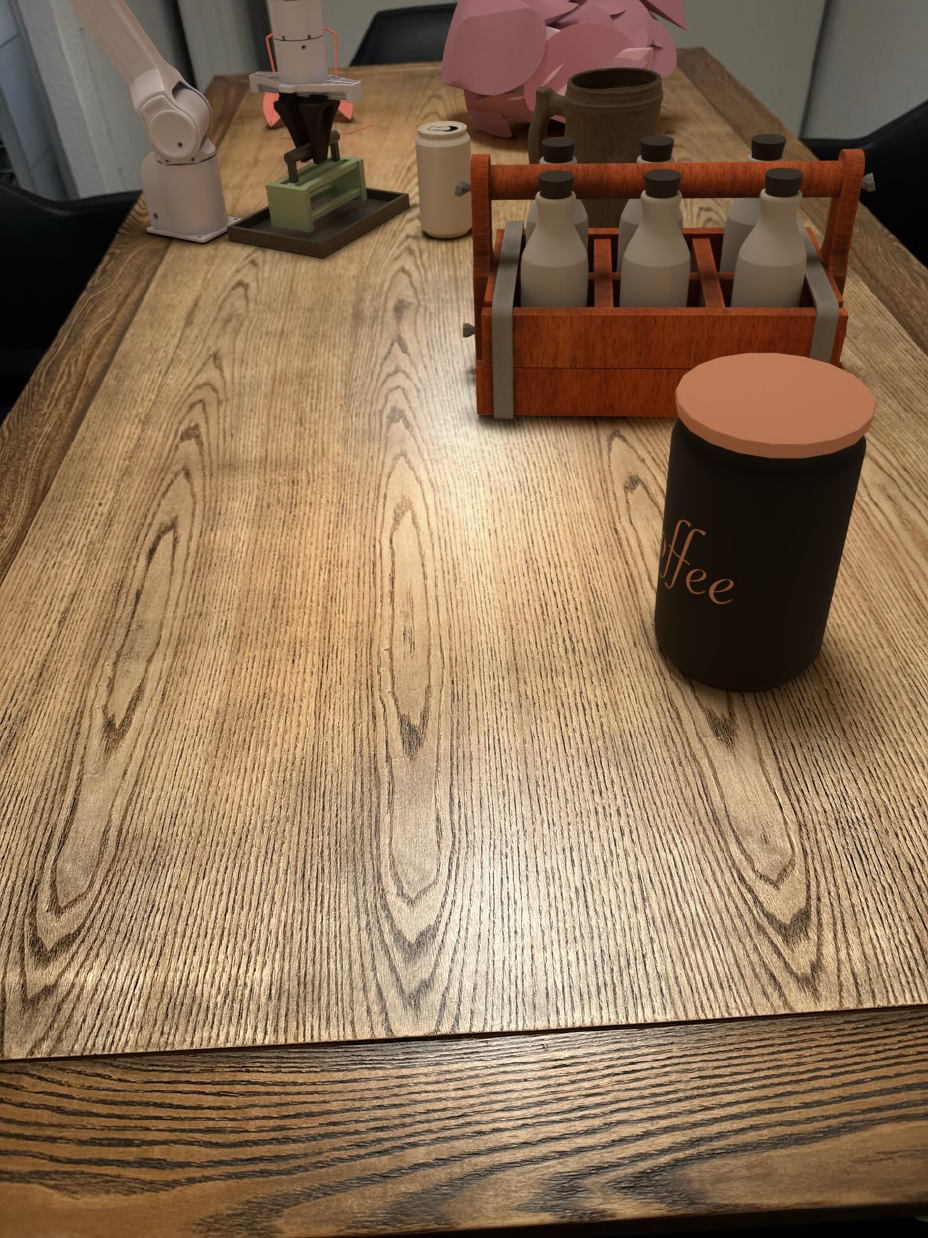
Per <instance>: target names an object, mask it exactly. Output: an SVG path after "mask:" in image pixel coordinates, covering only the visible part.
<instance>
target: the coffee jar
mask: <svg viewBox="0 0 928 1238" xmlns="http://www.w3.org/2000/svg"><path fill="white" fill-rule="evenodd" d="M876 405H877V403H876V400H875V398H874V396H873V394H872V391H871V389H870V387H868V385H866V384H865V383H863V382H862V381H861V380H860V379H859V378H858V377H857V376H855V375H854V374H852V373H850V372H848V371H846V370H845V371H844V370H842V369H840V368H838V367H836V366H834V365H832V364H828V363H825V362H821V361H818V360H814V359H810V358H807V357H802V356H794V355H787V354H779V353H744V354H738V355H731V356H725V357H719V358H717V359H714V360H711V361H708V362H705V363H702V364H700V365H698V366H696V367H695V368H693V369H692V370H691V371H689V372H688V373H686V374H685V375H684V376H683V377H682V379H681V381H680V383H679V385H678V387H677V389H676V406H677V412H678V417H676V418H677V419H676V421H675V422H674V424H673V426H672V429H671V433H670V443H669V444H670V445H669V453H668V455H669V456H668V466H667V476H666V485H665V496H664V497H665V498H664V507H663V508H664V509H663V517H662V529H661V539H660V540H661V541H660V550H659V560H658V561H659V562H658V571H657V581H656V582H657V583H656V592H655V601H654V603H655V604H654V613H653V625H654V634H655V636H654V637H655V638H656V640H657V642H658V644H659V646H660V647H661V649H662V650H663V652H664V654H665V655H666V657H667V658H668V659H669V660H670V663H671V664H672V665H673V666H675V668H677V669H678V670H679V671H681V673H683V674H684V675H685V676H687V678H689V679H692V680H694V681H696V682H698V683H699V684H703V685H705V686H707V687H710V688H714V689H717V690H722V691H726V692H731V693H760V692H764V691H770V690H773V689H778V688H780V687H782V686H784V685H786V684H788V683H790V682H792V681H794V680H796V679H797V678H798V677H799V676H801V675H803V674H804V673H805V672H806V671H807V670H808V669H809V668H810V667H811V666H812V665H813V664H814V662H815V661H816V660H817V659H818V657H819V656H820V655H821V650H822V645H823V641H824V637H825V633H826V627H827V624H828V618H829V615H830V610H831V607H832V606H831V605H832V602H833V597H834V592H835V588H836V585H837V579H838V575H839V571H840V566H841V561H842V558H843V554H844V550H845V549H844V548H845V544H846V540H847V536H848V531H849V526H850V522H851V518H852V514H853V508H854V504H855V500H856V496H857V491H858V487H859V483H860V479H861V474H862V469H863V465H864V460H865V456H866V451H867V449H868V448H867V447H868V446H867V439H866V437H865V435H867V433H868V432H869V431H870V428H871V426H872V422H873V419H874V415H875V410H876V407H877V406H876Z"/></svg>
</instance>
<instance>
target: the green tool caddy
mask: <svg viewBox="0 0 928 1238" xmlns="http://www.w3.org/2000/svg"><path fill="white" fill-rule="evenodd" d="M340 134H341V133H340V131H338V130H336V129H332V130H331V134H330V141H329V149H330V153H328V160H326V161H325V162H323V163H321V164H314V162H313V161H311V162H310V163H308V164H306V165H303V166H302V167H300V168H298V165H297V163H298V162H301V161H300V160H302V159H304V158H306V157H308V156H310V155H311V149H310V141H309V142H307V143H305V144H303V145H301V146H299V147H297V148H296V147H295V148H293V149H291V150H289V151H287V152H285V153H284V154H283V160H284V162H285V164H286V166H287V175H284V176H282V177H280V178H278V179H277V180H275V181H271V182H268V183H266V184H265V191H266V196H267V204H268V206H269V211H270V217H271V224H272V227H278V228H284V229H290V230H296V231H302V232H309V233H310V232H311V231H313V230H314V226H313V221H315V220H317V219H319V218H320V217H322V216H324V215H326V214H327V213H329V212H331V211H333V210H334V209H336V208H338V207H340V206H341V205H343V204H345V203H347V202H348V201H350V200H357V201H365V200H366V199H367V193H366V187H367V184H366V173H365V161H364V158H361V157H355V156H346V155H341V154H340V146H339V144H340V143H339V142H340V140H341V135H340ZM325 184H326V185H325ZM323 185H325V186H323ZM321 186H323V187H321ZM319 187H321V188H319ZM317 188H319V189H317ZM316 189H317V190H316ZM314 190H316V191H314ZM312 191H314V192H312ZM310 192H312V193H310ZM309 193H310V194H309ZM326 195H327V196H329V197H336V198H334V199H333V200H331V201H329V202H327V203H325V204H324V205H322V206H320V207H318V208H317V209H315V210H313V211H311V204H312V203H313V202H315V201H317V200H319V199H321V198H323V197H324V196H326Z"/></svg>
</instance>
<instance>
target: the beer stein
mask: <svg viewBox="0 0 928 1238" xmlns="http://www.w3.org/2000/svg"><path fill="white" fill-rule="evenodd" d="M662 79H663V78H661V76H660V75H659V74H658V73H656V72H654V71H651V70H647V69H642V68H627V67H616V68H601V69H593V70H588V71H583V72H580V73H577V74H574V75H573V76H571V77H570V78H569V79H568V81H567V88H566V92H565V96H562V95H559V94H557V93H555V91H554V90H553V89H552V87H549V86H547V87H538V88H536V103H535V109H534V113H533V116H532V120H531V123H529V124H530V125H529V129H528V134H527V155H528V164H539V162H540V159H541V158H542V157H543V149H542V141H543V140H544V139H547V137H548V126H549V123H550V121H551V120H552V119H551V117H553V116H554V115H558V116H562V117H564V118H565V123H564V136H563V137H568V138H572V139H574V140H575V141H576V142H575V148H574V154H573V156H574V157H575V158H576V160H577V164H601V163H636V162H637V159H638V157H639V156H640V155H641V148H640V140H641V138H644V137H647V136H656V135H657V136H660V135H659V126H660V118H661V111H662V103H663V100H664V94H665V93H664V88H663V82H662V81H663V80H662ZM550 119H551V120H550ZM580 200H581V202H582V204H583V206H584V208H585V211H586V213H587V216H588V228H619V224H620V219H621V215H622V213H623V211H624V208H625V206H626V204H627V203H628V201H629V199H580Z"/></svg>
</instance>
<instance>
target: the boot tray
mask: <svg viewBox="0 0 928 1238" xmlns="http://www.w3.org/2000/svg"><path fill="white" fill-rule="evenodd" d="M325 185H326V184H325ZM325 185H323V186H325ZM323 186H321V187H323ZM321 187H319V188H321ZM319 188H317V189H319ZM317 189H316V190H317ZM316 190H314V191H316ZM314 191H312V192H314ZM312 192H310V193H312ZM310 193H309V194H310ZM366 193H367V199H366V200H365V201H357V200H350V201H348V202H347V203H345V204H343V205H341V206H340V207H338V208H336V209H334V210H333V211H331V212H329V213H327V214H326V215H324V216H322V217H320V218H319V219H317V220H315V221H313V226H314V230H313V231H311V232H310V233H309V232H302V231H296V230H290V229H284V228H278V227H272V224H271V217H270V211H269V205H267V206H265V207H263V208H261V209H259V210H257V211H254V212H253V213H251V214H249V215H247V216H245V217H243V218H242V219H241V220H239V221H237V222H235V223H233V224H231V225H229V226H227V231H226V232H227V236H228V241H231V242H236V243H241V244H246V245H251V246H257V247H261V248H262V247H263V248H268V249H274V250H278V251H284V252H289V253H293V254H300V255H305V256H310V257H316V258H322V259H324V258H326V257H327V256H330V255H331V254H332V253H334V252H336V251H337V250H340V249H341V248H343V247H344V246H347V245H348V244H349V243H351V242H353V241H354V240H356V239H358V238H359V237H362V236H364V234H367V233H368V232H370V231H371V230H374V229H375V228H377V227H378V226H380V225H382V224H383V223H386V222H387V221H388V220H391V219H392V218H393V217H395V216H397V215H398V214H400V213H402V212H404V211H405V210H407V209H409V208H410V207H411V206H410V193H406V192H400V191H394V190H387V189H380V188H373V187H367V186H366ZM334 198H336V197H329V196H327V195H326V196H324V197H323V198H321V199H319V200H317V201H315V202H313V203H312V204H311V211H313V210H315V209H317V208H318V207H320V206H322V205H324V204H325V203H327V202H329V201H331V200H333V199H334Z"/></svg>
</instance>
